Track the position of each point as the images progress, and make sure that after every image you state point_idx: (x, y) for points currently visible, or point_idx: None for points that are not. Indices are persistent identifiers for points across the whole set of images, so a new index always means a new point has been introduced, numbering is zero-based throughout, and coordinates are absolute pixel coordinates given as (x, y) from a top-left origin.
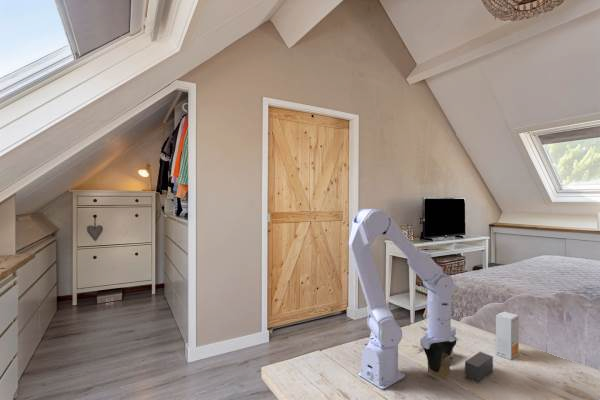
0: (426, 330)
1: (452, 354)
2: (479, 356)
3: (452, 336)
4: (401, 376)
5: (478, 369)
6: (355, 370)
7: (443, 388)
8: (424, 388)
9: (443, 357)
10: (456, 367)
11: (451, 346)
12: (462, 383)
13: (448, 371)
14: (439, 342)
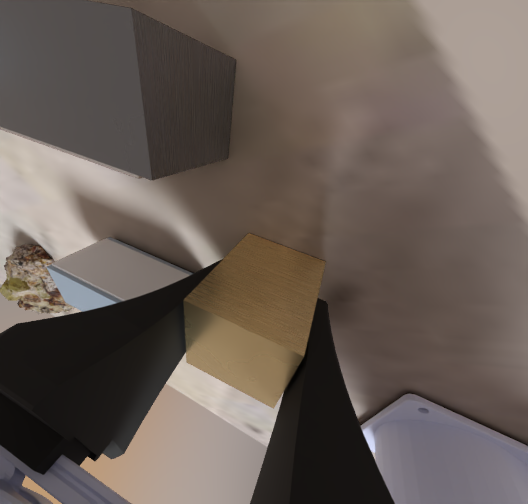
0: (68, 311)
1: (104, 240)
2: None
3: (18, 249)
4: (436, 414)
5: (151, 21)
6: None
7: (438, 250)
8: (492, 335)
9: (256, 343)
10: (168, 212)
11: (103, 359)
12: (301, 158)
13: (254, 246)
14: (135, 408)
